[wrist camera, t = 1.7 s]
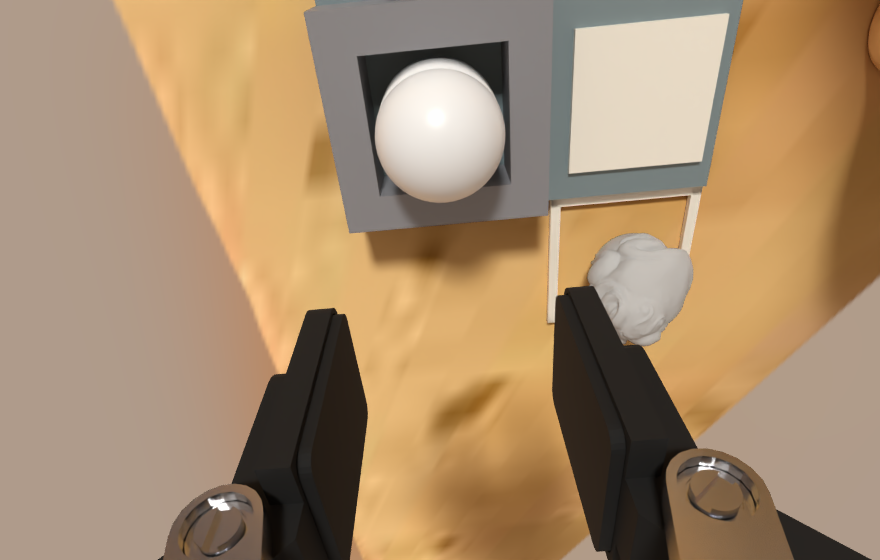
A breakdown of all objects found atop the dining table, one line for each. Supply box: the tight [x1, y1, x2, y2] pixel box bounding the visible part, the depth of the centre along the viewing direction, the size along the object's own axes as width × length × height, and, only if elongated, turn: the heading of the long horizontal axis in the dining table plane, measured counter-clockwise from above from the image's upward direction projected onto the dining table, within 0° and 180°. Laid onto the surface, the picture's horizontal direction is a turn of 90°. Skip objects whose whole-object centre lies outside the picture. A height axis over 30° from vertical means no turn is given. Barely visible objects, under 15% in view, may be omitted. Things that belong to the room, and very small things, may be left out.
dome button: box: [375, 56, 505, 203], centre depth 24 cm, size 6×6×6 cm
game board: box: [304, 0, 743, 323], centre depth 27 cm, size 31×21×5 cm
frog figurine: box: [587, 233, 693, 346], centre depth 32 cm, size 6×7×7 cm
